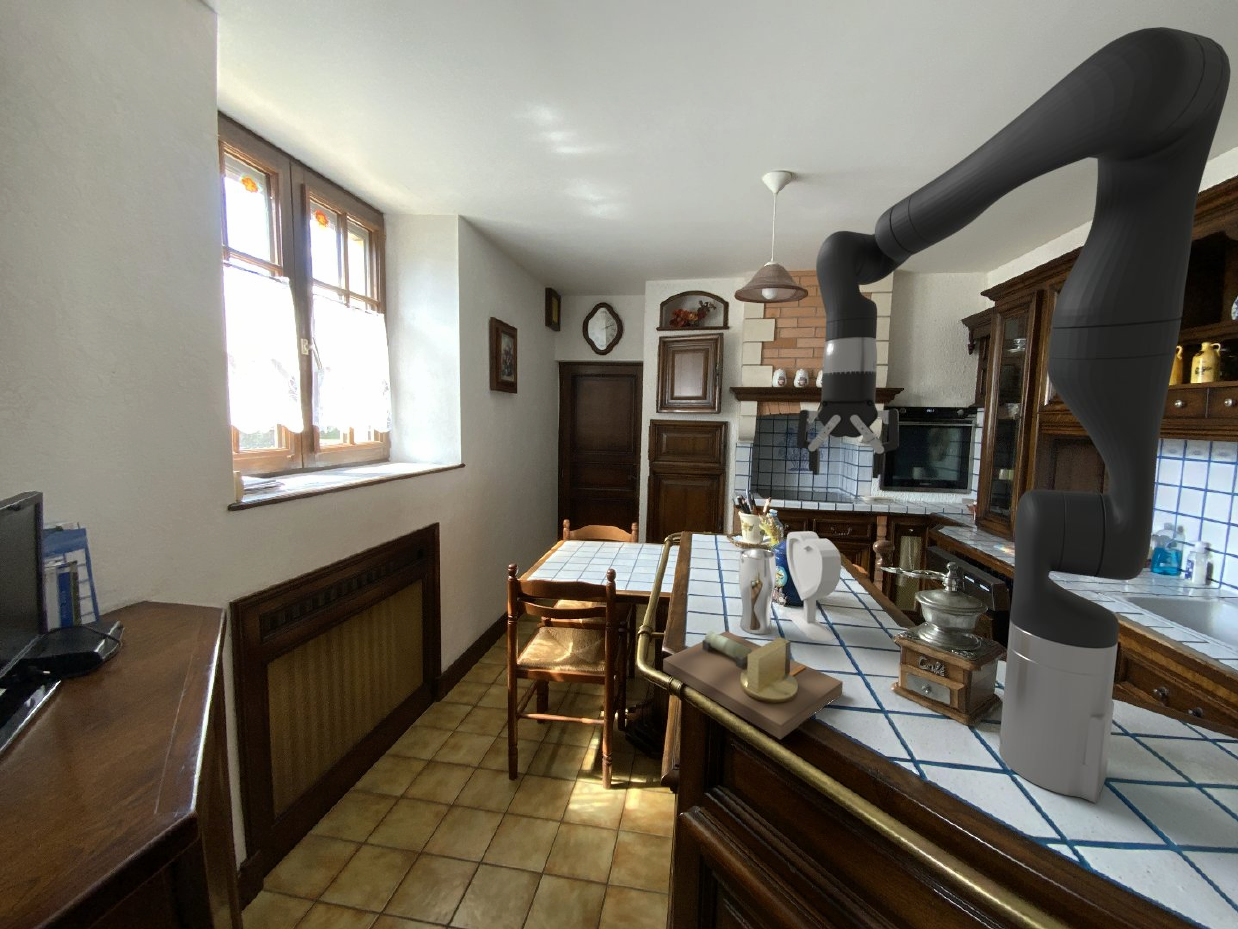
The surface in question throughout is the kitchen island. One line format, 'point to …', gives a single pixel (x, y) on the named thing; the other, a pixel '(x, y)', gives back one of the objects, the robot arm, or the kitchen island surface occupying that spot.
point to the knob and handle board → (719, 678)
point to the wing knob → (770, 673)
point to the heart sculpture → (812, 578)
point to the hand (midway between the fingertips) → (844, 476)
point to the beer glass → (757, 589)
